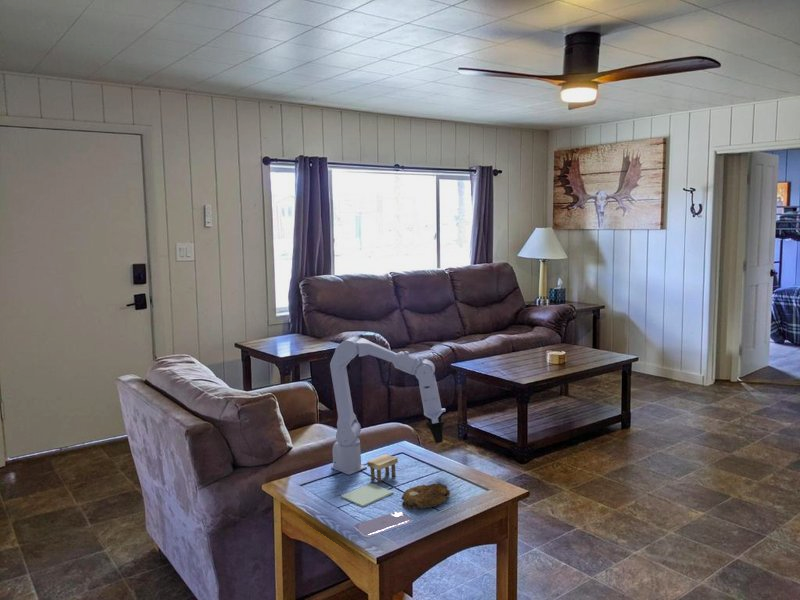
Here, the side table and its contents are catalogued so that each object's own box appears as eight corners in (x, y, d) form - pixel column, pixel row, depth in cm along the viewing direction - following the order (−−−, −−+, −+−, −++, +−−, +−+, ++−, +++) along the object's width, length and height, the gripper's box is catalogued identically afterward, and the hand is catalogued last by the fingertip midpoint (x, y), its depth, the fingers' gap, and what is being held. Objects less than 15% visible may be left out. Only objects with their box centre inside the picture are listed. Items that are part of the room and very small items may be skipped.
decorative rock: (433, 489, 188) (395, 506, 178) (431, 476, 187) (393, 493, 178) (459, 498, 179) (421, 517, 170) (458, 485, 179) (419, 503, 169)
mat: (340, 497, 183) (340, 495, 183) (371, 484, 192) (371, 483, 192) (362, 507, 176) (362, 505, 176) (393, 493, 184) (393, 491, 184)
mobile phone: (351, 524, 165) (399, 509, 173) (352, 528, 165) (399, 512, 173) (365, 535, 158) (414, 519, 166) (365, 539, 158) (414, 522, 166)
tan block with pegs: (368, 479, 196) (367, 461, 195) (386, 471, 201) (386, 454, 200) (379, 484, 192) (378, 465, 191) (398, 476, 197) (397, 458, 197)
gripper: (444, 401, 190) (452, 443, 192) (441, 390, 205) (448, 429, 206) (422, 405, 191) (430, 447, 192) (420, 394, 205) (427, 433, 206)
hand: (438, 438), depth 199 cm, fingers open, 7 cm apart
